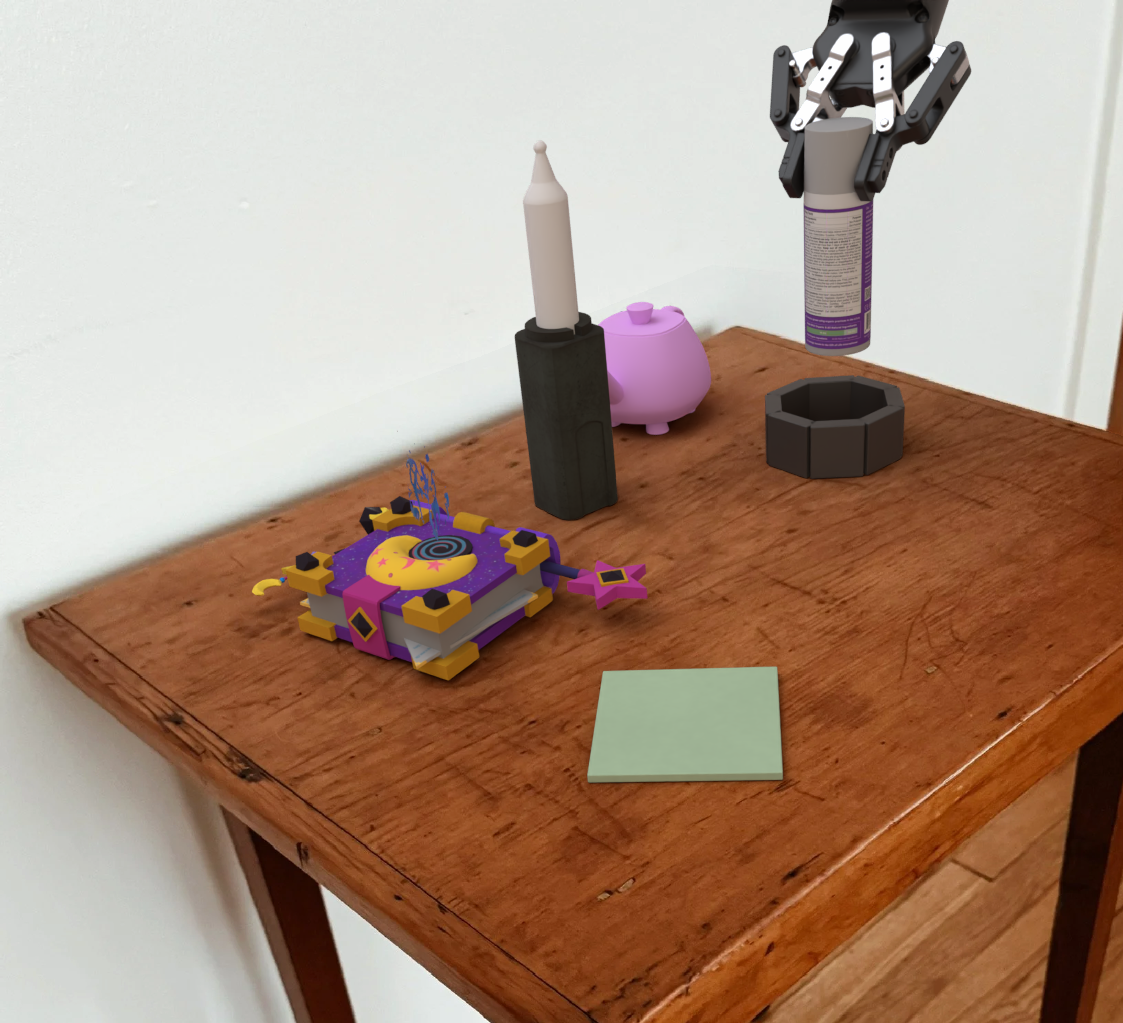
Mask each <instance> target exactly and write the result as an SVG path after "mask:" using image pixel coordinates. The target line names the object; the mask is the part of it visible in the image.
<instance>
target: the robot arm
mask: <svg viewBox="0 0 1123 1023" xmlns="http://www.w3.org/2000/svg"><path fill="white" fill-rule="evenodd" d="M949 1H950V0H831V2H830V6H829V12H828V18H827V23H826V25H825V28H824V30H822V32H821V33H820V34H819V36H818V37H817V38H816V39H815V40H814V43H813V45H812V47H808V48H804V49H800V50H797V51H793V52H792V51H791V48H790V46H788V45H785V44H784V45H780V46H778V47H777V48H775V50H774V52H773V53H772V54H773V55H772V73H771V85H770V86H771V88H770V104H769V119H770V121H771V123H772V124H773V126H774V128H775V131H776V132H777V134H778V135H779V137H780V139H781V141H782V142H784V143H786V144H787V145H786V148H785V150H784V153H783V157H782V159H781V161H780V162H781V163H780V165H779V168H778V179H779V181H780V183H781V185H782V188H783V189H784V191H785V193H786V194H787V196H788V198H790V199H801V198H803V196H804V146H805V126H806V125H808V124H810V123H812V122H815V121H819V120H825V119H831V118H840V117H843V115H844V114H845V112H846V111H847V109H852V108H857V107H860V106H865V107H868V108H873V109H875V110H874V111H875V116H874V117H875V118H874V120H875V129H876V130H875V133H873V134H869V137H868V141H867V144H866V147H865V150H864V153H863V156H862V159H861V162H860V165H859V168H858V171H857V174H856V177H855V180H854V189H855V191H856V193H857V195H858V197H859V199H860V201H870V202H871V201H872V200H873V201H874V200H875V199H874V198H875V195H876V194H881V192H882V191H883V190H884V188H886V185H887V182H888V178H889V175H890V172H891V170H892V167H893V163H894V160H895V157H896V155H897V152H898V151H900V150H901V149H902V148H903V146H905V145H908V144H910V143H911V144H912V143H915V144H916V145H917V146H923V145H925V144H927V143H928V142H929V141H930V140H931V138H932V137H933V135H934V134H935V132H936V130H937V129H938V127H939V126H940V124H941V122H942V121H943V120H944V118H945V117H946V114H948V111H949V109H950V108H951V107H952V105H953V103H954V102H955V100H956V99H957V97H958V95H959V94H960V92H961V90H963V87H964V85H965V84H966V83H967V81H968V80H969V78H970V76H971V74H972V68H971V63H970V60H969V57H968V54H967V51H966V48H965V45H964V43H963V42H962V41H959V40H956V41H955V40H954V41H951V42H950V43H948V45H947V46H945V45H941V44H938V43H936V39H937V36H938V35H939V32H940V29H941V26H942V22H943V20H944V16H945V14H946V11H947V7H948V5H949ZM815 68H817V71H818V72H817V74H816V75H815V77H814V78H813V80H812V81H811V83H810V84H809V86H808V87H807V90H806V94H805V99H804V101H803V103H802V104H801V106H800V99H801V98H800V96H801V88H804V87H806V86H807V80H808V78H809V74H810V73H811V71H812V70H813V69H815ZM926 71H928V73H929V74H928V75H927V77H926V79H925V81H924V82H923V84H922V86H921V87H920V88H919V90H918V92H917V93H916V95H915V97H913V100H912V101H911V103H910V105H909V106H908V108H907V109H906V111H905V91H906V90H907V88H909V87H910V86H911V85H912V84H913V83H914V82H915V81H916V80H918V79H919V77H921V76H922V75H923V74H924V73H925V72H926Z"/></svg>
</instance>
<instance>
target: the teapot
mask: <svg viewBox="0 0 1123 1023" xmlns="http://www.w3.org/2000/svg"><path fill="white" fill-rule="evenodd" d="M625 309H626V310H622V311H619V312H616V313H613V314H612V315H610V316H608V317H605V318H604V319H603V320H601V321H600V323H598V324H597V325H598V326H601V327H602V328H603V329H604V336H605V349H606V361H607V373H608V385H609V397H610V409H611V421H612V428H615V427H617V426H620V425H621V424H627V425H628V424H629V425H645V432H646V433H647V434H649V435H653V436H654V435H655V436H656V435H657V436H658V435H663V434H666V433H668V432H669V431H670V427H669V424H668V423H669V422H672V421H675V420H678V419H680V418H683V417H684V416H686V415H689V414H692V413H694V412H695V411H696V408H697V407H698V406H699V405H700V404H701V402H703V400H704V398H705V397H706V395H707V393H709V390H710V388H711V386H712V385H711V384H712V373H711V368H710V363H709V360H708V359H709V358H708V355H707V353H706V350H705V348H704V346H703V344H702V342H701V340H700V338H699V335H697V333H696V331H695V330H694V329H695V328H693V326H692V325H691V323H690V322H689V320H688V319H687V318H686V316H685V313H684V312H683V310H682V309H681V308H679V307H678V306H674V305H666V306H663V307H661V308H660V309H659V308H658V309H657V308H654V303H651V302H647V301H638V302H633V303H631V304H629V305H627V306H626V308H625Z"/></svg>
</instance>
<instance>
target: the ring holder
mask: <svg viewBox="0 0 1123 1023" xmlns="http://www.w3.org/2000/svg"><path fill="white" fill-rule="evenodd" d="M905 412H906V405H905V402H904V399H903V395H902V392H901V388H900V387H898V385H896V384H892V383H888V382H884V381H881V380H877V379H874V378H869V377H866V376H862V375H856V376H855V375H853V374H851V375H834V376H833V375H832V376H817V377H816V376H815V377H805V378H804V379H802V378H799V379H797V380H795V381H794V380H793V381H792V382H790V383H787V384H786V385H783V386H780V387H779V388H776V389H773V390H771V391H769V392H767V393H766V394H765V395H764V426H765V428H764V430H765V432H764V433H765V434H764V436H765V438H764V439H765V441H764V442H765V461H766V464H768V466H770V467H772V468H776V469H779V470H781V471H784V472H787V473H790V474H793V475H795V476H799V477H802V478H804V479H808V478H810V480H813V479H814V480H815V479H835V478H836V479H837V478H856V477H864V475H865V476H869V475H871V474H873V473H875V472H877V471H878V470H881V469H882V468H885V467H887V466H889V465H891V464H893V463H895V462H897V461H899V460H901V459H902V457H903V455H904V454H903V452H904V436H905V435H904V433H905V416H906V414H905Z"/></svg>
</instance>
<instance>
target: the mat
mask: <svg viewBox="0 0 1123 1023" xmlns="http://www.w3.org/2000/svg"><path fill="white" fill-rule="evenodd" d="M778 672H779V671H778V666H746V667H745V666H744V667H743V666H742V667H708V668H707V667H706V668H671V669H669V668H667V669H666V668H665V669H663V668H662V669H632V670H631V669H630V670H629V669H627V670H603V671H602V676H601V681H600V682H601V683H600V689H599V696H598V701H597V709H596V716H595V722H594V729H593V736H592V742H591V748H590V755H589V761H588V767H587V775H586V777H587V782H588V783H637V782H638V783H644V782H645V783H650V782H651V783H652V782H653V783H655V782H657V783H658V782H659V783H660V782H714V781H715V782H724V781H726V782H727V781H729V782H731V781H783V780H784V770H783V769H784V768H783V749H782V748H783V747H782V732H781V731H782V730H781V711H780V692H779V690H780V689H779V674H778Z"/></svg>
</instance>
